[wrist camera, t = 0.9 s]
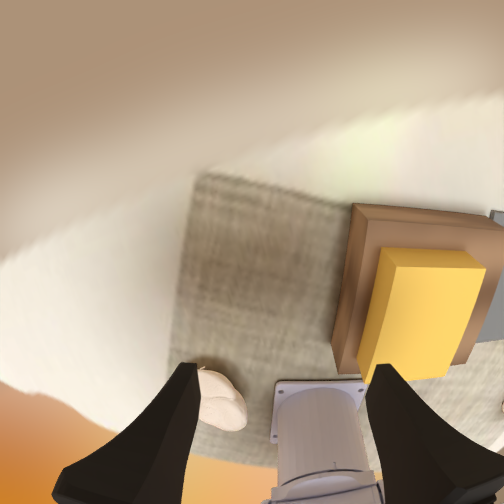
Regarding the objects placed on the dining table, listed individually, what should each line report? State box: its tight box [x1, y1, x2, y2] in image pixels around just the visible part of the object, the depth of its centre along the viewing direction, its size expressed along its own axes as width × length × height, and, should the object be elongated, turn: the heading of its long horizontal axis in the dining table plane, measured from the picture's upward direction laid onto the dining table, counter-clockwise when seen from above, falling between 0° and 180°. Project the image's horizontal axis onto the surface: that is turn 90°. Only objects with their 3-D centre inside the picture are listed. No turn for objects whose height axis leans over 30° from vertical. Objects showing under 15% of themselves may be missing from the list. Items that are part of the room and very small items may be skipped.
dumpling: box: [197, 366, 248, 431], centre depth 25 cm, size 7×5×4 cm
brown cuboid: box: [331, 203, 504, 374], centre depth 20 cm, size 11×11×4 cm
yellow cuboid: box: [356, 247, 486, 384], centre depth 17 cm, size 8×6×2 cm
